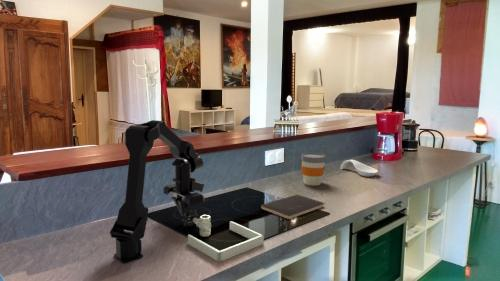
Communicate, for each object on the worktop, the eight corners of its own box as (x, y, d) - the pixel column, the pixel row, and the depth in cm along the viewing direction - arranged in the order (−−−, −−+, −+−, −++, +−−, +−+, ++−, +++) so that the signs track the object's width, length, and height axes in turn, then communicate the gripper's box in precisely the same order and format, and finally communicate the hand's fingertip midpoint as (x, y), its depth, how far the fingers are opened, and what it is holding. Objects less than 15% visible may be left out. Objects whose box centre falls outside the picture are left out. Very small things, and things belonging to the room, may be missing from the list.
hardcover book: (324, 208, 162) (324, 202, 162) (288, 221, 147) (289, 215, 147) (296, 198, 174) (296, 193, 173) (260, 209, 158) (260, 204, 158)
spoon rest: (381, 176, 215) (382, 164, 214) (369, 179, 208) (370, 167, 207) (348, 168, 234) (348, 156, 233) (335, 170, 227) (336, 159, 226)
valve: (216, 234, 132) (197, 223, 141) (216, 216, 131) (197, 207, 140) (200, 239, 128) (182, 228, 137) (200, 220, 127) (181, 210, 136)
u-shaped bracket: (219, 262, 112) (219, 252, 112) (187, 243, 124) (187, 235, 123) (263, 243, 125) (263, 235, 124) (231, 228, 137) (231, 221, 136)
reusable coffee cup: (329, 184, 197) (330, 156, 194) (311, 187, 190) (313, 158, 187) (312, 178, 207) (313, 151, 204) (295, 181, 200) (296, 154, 197)
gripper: (215, 177, 138) (215, 217, 141) (186, 167, 151) (187, 204, 154) (190, 182, 130) (190, 225, 133) (162, 172, 144) (163, 211, 146)
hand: (183, 215), depth 142 cm, fingers closed
